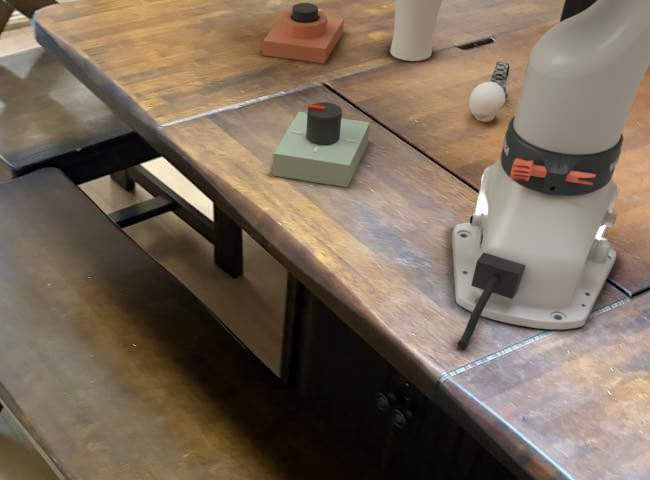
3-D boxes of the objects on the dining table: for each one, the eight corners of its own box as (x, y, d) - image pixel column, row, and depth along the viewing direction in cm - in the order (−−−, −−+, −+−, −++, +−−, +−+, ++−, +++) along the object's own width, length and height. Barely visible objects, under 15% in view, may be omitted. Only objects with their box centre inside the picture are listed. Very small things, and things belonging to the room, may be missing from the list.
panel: (347, 187, 112) (349, 164, 109) (272, 175, 113) (273, 151, 111) (367, 144, 119) (370, 121, 116) (297, 133, 121) (298, 110, 118)
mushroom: (499, 129, 121) (507, 92, 118) (464, 125, 122) (471, 89, 118) (501, 113, 124) (509, 77, 121) (467, 109, 125) (474, 73, 121)
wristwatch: (482, 106, 129) (486, 90, 124) (494, 72, 128) (499, 55, 123) (502, 112, 128) (507, 96, 123) (514, 77, 128) (520, 60, 123)
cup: (372, 63, 135) (383, -37, 124) (382, 36, 141) (393, -61, 131) (440, 70, 133) (457, -30, 123) (447, 43, 140) (463, -55, 129)
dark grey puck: (313, 26, 135) (314, 14, 134) (289, 23, 136) (289, 10, 134) (320, 16, 137) (321, 4, 136) (295, 13, 138) (296, 1, 137)
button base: (324, 63, 135) (326, 36, 132) (262, 55, 137) (263, 27, 134) (342, 33, 142) (344, 6, 139) (283, 26, 144) (284, -1, 141)
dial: (342, 131, 115) (345, 101, 112) (336, 147, 112) (338, 117, 109) (309, 127, 115) (311, 97, 112) (302, 142, 113) (304, 113, 110)
